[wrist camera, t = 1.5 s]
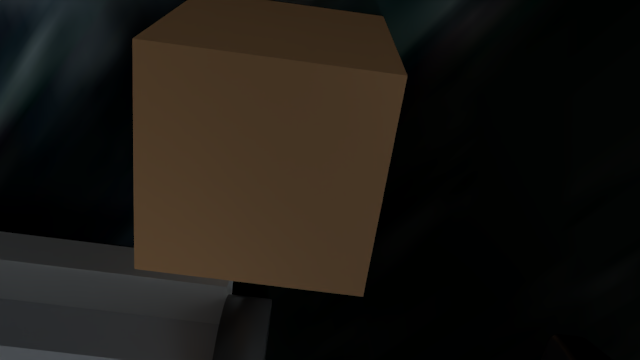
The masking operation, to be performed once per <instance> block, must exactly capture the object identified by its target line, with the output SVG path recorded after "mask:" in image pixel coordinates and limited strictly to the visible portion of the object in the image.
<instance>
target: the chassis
mask: <svg viewBox="0 0 640 360" xmlns="http://www.w3.org/2000/svg"><path fill="white" fill-rule="evenodd" d="M232 288H233V281H229V280H221V279H212V278H204V277H196V276H188V275H179V274H171V273H163V272H155V271H146V270H138V269H134V248H131V247H123V246H115V245H107V244H99V243H91V242H82V241H74V240H66V239H58V238H50V237H42V236H33V235H25V234H17V233H9V232H1V231H0V360H265V356H266V348H267V340H268V332H269V324H270V315H271V305H272V299H265V298H257V297H249V296H240V295H232Z"/></svg>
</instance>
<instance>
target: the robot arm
mask: <svg viewBox="0 0 640 360" xmlns="http://www.w3.org/2000/svg"><path fill="white" fill-rule="evenodd" d="M541 360H613V359H611V358H610V357H609V356H607V355H606V354H605V353H603V352H602V351H601V350H600V349H598V348H597V347H596V346H594V345H593V344H592V343H591V342H589V341H588V340H587V339H585V338H583V337H579V336H571V335H562V334H556V335H553V336H551V338H550V339H549V340H548V342H547V344H546V347H545V350H544V352H543V355H542V358H541Z"/></svg>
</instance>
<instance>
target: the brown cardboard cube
mask: <svg viewBox="0 0 640 360" xmlns="http://www.w3.org/2000/svg"><path fill="white" fill-rule="evenodd" d="M132 55H133V173H134V269H138V270H146V271H155V272H163V273H171V274H179V275H188V276H196V277H204V278H212V279H221V280H229V281H237V282H245V283H254V284H262V285H270V286H279V287H287V288H295V289H303V290H312V291H320V292H328V293H336V294H345V295H353V296H361V297H363V294H364V289H365V284H366V279H367V274H368V269H369V264H370V259H371V254H372V250H373V245H374V240H375V235H376V230H377V225H378V220H379V215H380V210H381V205H382V200H383V195H384V190H385V185H386V180H387V175H388V170H389V165H390V160H391V155H392V150H393V145H394V140H395V135H396V130H397V125H398V120H399V115H400V110H401V105H402V100H403V95H404V90H405V85H406V80H407V74H406V71H405V69H404V66H403V64H402V61H401V59H400V56H399V54H398V51H397V49H396V47H395V44H394V42H393V39H392V37H391V34H390V32H389V29H388V27H387V24H386V22H385V20H384V17H383V16H378V15H371V14H364V13H356V12H349V11H342V10H335V9H328V8H320V7H313V6H306V5H299V4H292V3H284V2H277V1H270V0H187V1H185V2H184V3H183V4H181V5H180V6H178V7H177V8H175V9H174V10H173V11H171V12H170V13H168V14H167V15H165V16H164V17H163V18H161V19H160V20H158V21H157V22H155V23H154V24H152V25H151V26H150V27H148V28H147V29H145V30H144V31H142V32H141V33H140V34H138V35H137V36H135V37H134V38H132Z"/></svg>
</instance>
